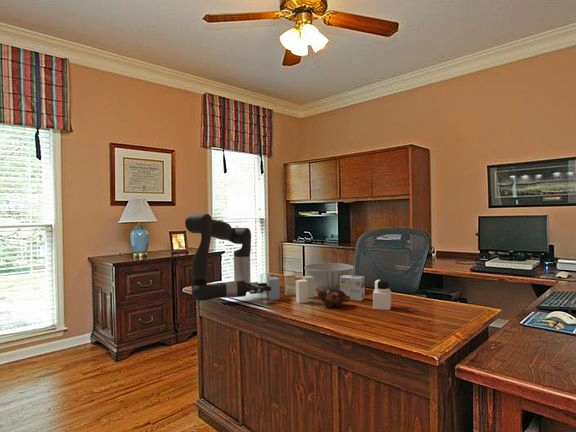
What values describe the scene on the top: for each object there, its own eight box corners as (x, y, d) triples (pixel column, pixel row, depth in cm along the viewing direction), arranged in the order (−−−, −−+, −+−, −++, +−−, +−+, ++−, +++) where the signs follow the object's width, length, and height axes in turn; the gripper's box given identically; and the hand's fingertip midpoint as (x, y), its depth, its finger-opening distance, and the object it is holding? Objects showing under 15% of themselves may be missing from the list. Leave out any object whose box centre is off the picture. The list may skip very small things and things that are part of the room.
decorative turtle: (313, 305, 167) (313, 287, 168) (343, 304, 172) (344, 287, 172) (321, 309, 158) (322, 290, 159) (353, 308, 163) (354, 290, 163)
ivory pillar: (296, 301, 175) (295, 280, 175) (304, 300, 177) (304, 279, 176) (298, 303, 171) (298, 281, 171) (307, 302, 172) (307, 281, 172)
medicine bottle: (391, 306, 164) (390, 279, 164) (390, 310, 158) (389, 282, 157) (374, 304, 167) (374, 278, 166) (372, 309, 160) (372, 281, 160)
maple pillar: (284, 293, 191) (284, 274, 190) (293, 293, 192) (292, 274, 192) (287, 295, 186) (287, 275, 186) (295, 295, 188) (295, 275, 187)
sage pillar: (302, 296, 185) (302, 276, 185) (311, 295, 186) (310, 275, 186) (305, 298, 181) (305, 277, 180) (314, 297, 182) (313, 277, 182)
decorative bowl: (342, 296, 183) (342, 272, 183) (295, 291, 197) (295, 268, 197) (361, 286, 206) (361, 264, 206) (318, 282, 220) (318, 261, 220)
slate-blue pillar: (268, 298, 182) (268, 277, 182) (277, 297, 183) (277, 277, 183) (270, 300, 178) (270, 279, 178) (279, 299, 179) (279, 278, 179)
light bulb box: (365, 298, 180) (364, 275, 180) (361, 301, 174) (361, 278, 173) (343, 296, 184) (343, 274, 184) (339, 299, 178) (339, 276, 178)
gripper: (237, 284, 168) (272, 281, 173) (233, 278, 182) (265, 276, 186) (237, 300, 168) (272, 297, 173) (233, 293, 182) (265, 291, 187)
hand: (268, 286), depth 180 cm, fingers open, 8 cm apart
